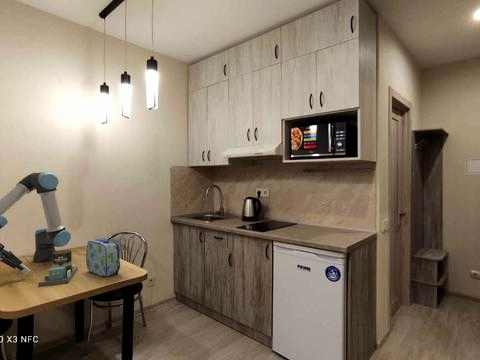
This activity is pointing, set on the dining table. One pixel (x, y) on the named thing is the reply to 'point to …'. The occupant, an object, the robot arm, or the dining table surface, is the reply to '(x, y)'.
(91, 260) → the lunch box
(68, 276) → the rack
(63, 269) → the teal box
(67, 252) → the coffee can
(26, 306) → the dining table surface
